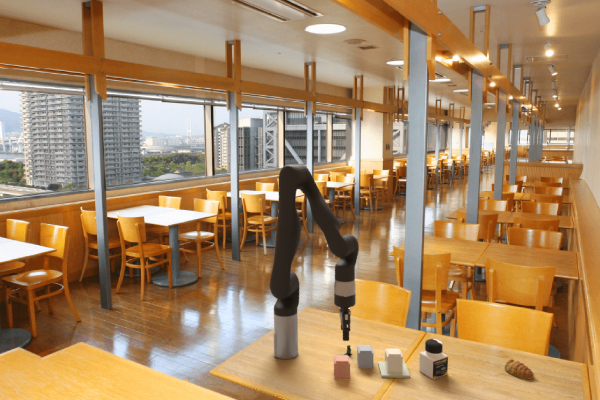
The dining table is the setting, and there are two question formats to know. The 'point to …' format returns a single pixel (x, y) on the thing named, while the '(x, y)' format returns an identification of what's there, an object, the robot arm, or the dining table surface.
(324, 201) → the robot arm
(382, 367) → the tower base
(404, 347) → the dining table surface
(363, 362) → the grey block
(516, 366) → the pastry
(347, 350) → the sculpture
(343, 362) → the brick terracotta
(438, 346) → the medicine bottle
